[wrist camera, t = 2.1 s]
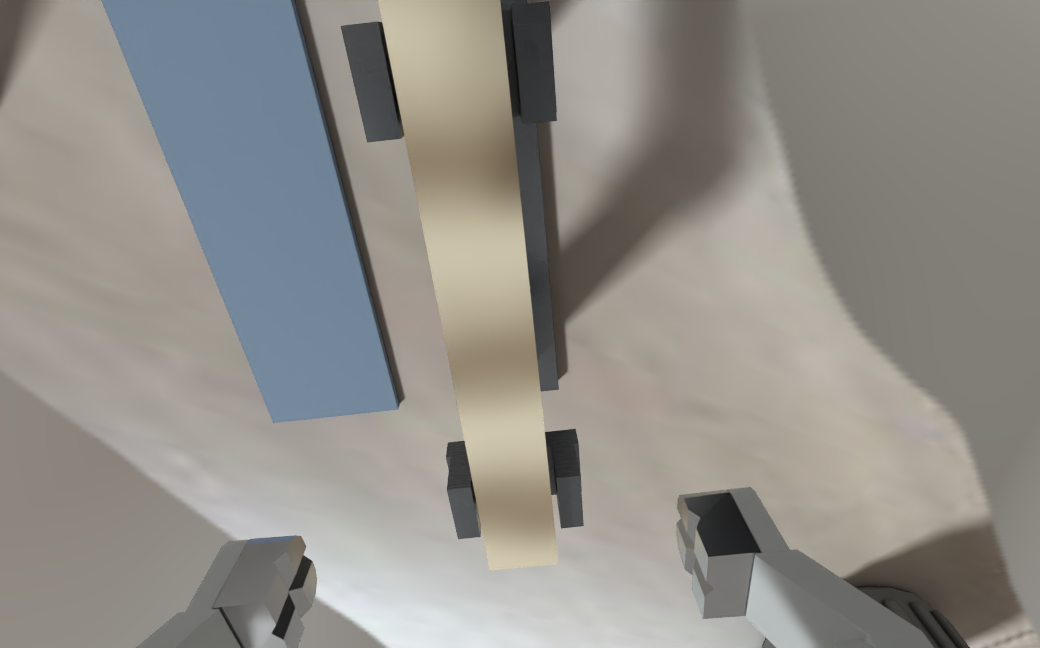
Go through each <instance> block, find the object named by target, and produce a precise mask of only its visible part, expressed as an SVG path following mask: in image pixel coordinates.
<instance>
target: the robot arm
mask: <svg viewBox="0 0 1040 648" xmlns="http://www.w3.org/2000/svg"><path fill="white" fill-rule="evenodd" d="M677 509H678V511H679V514H680V517H681V519H680V520H679V521H678V522H677V542H678V549H679V553H680V556H681V560H682V563H683V566H684V568H685V570H686V571H688V572H689V573H690V574H691V575H693V576H692V591H693V593H694V596H695V599H696V601H697V604H698V607H699V609H700V612H701V615H702V618H703V619H708V618H722V617H736V616H746V619H747V620H748V621H749V622H750V623H751V624H752V625H753V626H754V627H755V628H756V629H757V630H758V631H760V632H761V633H762V634H763V635H764V636H765V637H766V638H767V639H768V640H769V641H770V642H771V643H772V644H773V645H774V646H775V647H776V648H934V647H933V646H932V644H931V643H930V642H929V640H928V639H927V638H926V636H925V635H924V633H923V632H922V631H921V630H919V629H918V628H916V627H915V626H913V625H912V624H910V623H909V622H907V621H906V620H904V619H902V618H901V617H899V616H898V615H896V614H895V613H893V612H892V611H890V610H889V609H887V608H886V607H884V606H883V605H881V604H880V603H878V602H877V601H875V600H874V599H872V598H871V597H869V596H867V595H866V594H864V593H863V592H861V591H860V590H858V589H857V588H855V587H854V586H852V585H851V584H849V583H848V582H846V581H845V580H843V579H842V578H840V577H839V576H837V575H835V574H834V573H832V572H831V571H829V570H828V569H826V568H825V567H823V566H822V565H820V564H819V563H817V562H816V561H814V560H813V559H811V558H810V557H808V556H807V555H805V554H804V553H802V552H800V551H799V550H790V549H789V547H788V546H787V544H786V542H785V541H784V539H783V537H782V536H781V534H780V532H779V531H778V529H777V527H776V526H775V524H774V522H773V521H772V519H771V517H770V515H769V514H768V512H767V510H766V509H765V507H764V505H763V504H762V502H761V500H760V499H759V497H758V495H757V494H756V492H755V490H753V489H752V488H751V487H747V488H738V489H729V490H719V491H710V492H701V493H693V494H684V495H679V498H678V505H677ZM305 549H306V545H305V543H304V541H303V539H302V537H301V536H284V537H271V538H258V539H250V540H237V541H229V542H227V543H226V544H225V545H224V546H222V547H221V549H220V551H219V552H218V554H217V556H216V558H215V560H214V561H213V563H212V565H211V567H210V568H209V570H208V572H207V574H206V576H205V577H204V580H203V581H202V583H201V584H200V586H199V588H198V590H197V592H196V593H195V595H194V597H193V599H192V600H191V602H190V604H189V606H188V608H187V609H186V611H185V612H181V613H177V614H176V615H175V616H174V617H172V618H171V619H170V620H169V621H167V622H166V623H165V624H164V625H163V626H161V627H160V628H159V629H158V630H157V631H155V632H154V633H153V634H152V635H150V636H149V637H148V638H147V639H146V640H144V641H143V642H142V643H141V644H140V645H138V646H137V647H136V648H298V646H299V642H300V639H301V637H302V634H303V631H304V626H303V623H302V621H301V618H302V616H303V615H304V614H305V613H306V612H307V611H308V610H309V609H310V608H311V607H312V603H313V601H314V597H315V594H316V584H317V577H316V570H315V567H314V564H313V562H312V561H311V560H310V559H308V558H307V557H305V556H304V555H303V554H304V551H305Z"/></svg>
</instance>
